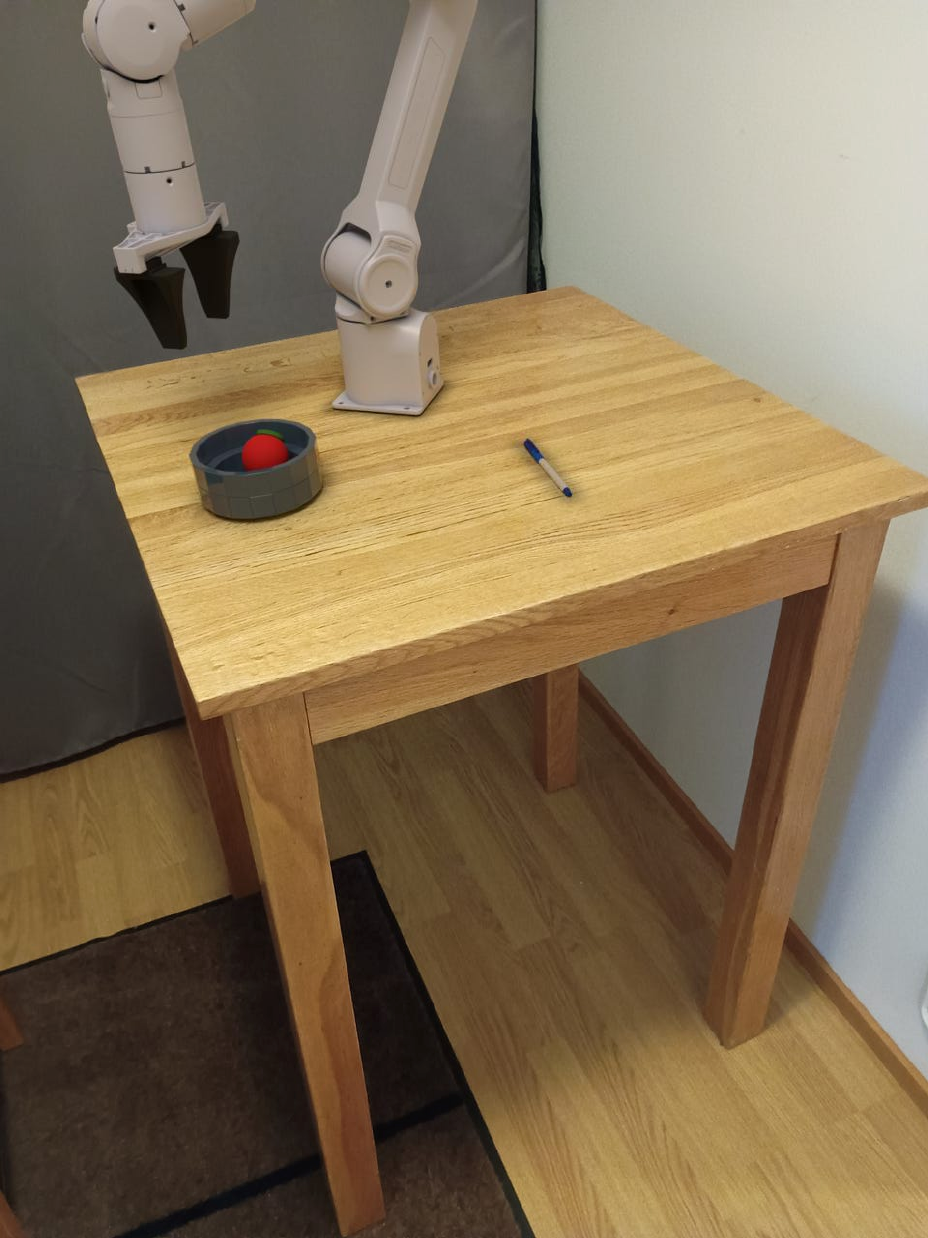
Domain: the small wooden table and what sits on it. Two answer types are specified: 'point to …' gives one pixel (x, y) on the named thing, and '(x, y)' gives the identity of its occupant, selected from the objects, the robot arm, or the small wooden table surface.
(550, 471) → the ballpoint pen
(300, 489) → the dessert bowl
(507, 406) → the small wooden table surface
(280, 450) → the tomato
